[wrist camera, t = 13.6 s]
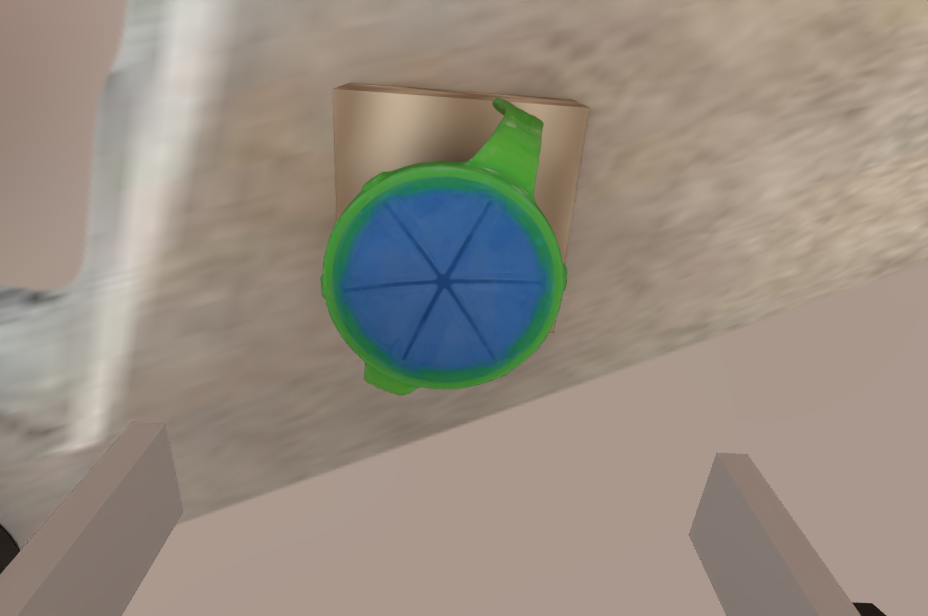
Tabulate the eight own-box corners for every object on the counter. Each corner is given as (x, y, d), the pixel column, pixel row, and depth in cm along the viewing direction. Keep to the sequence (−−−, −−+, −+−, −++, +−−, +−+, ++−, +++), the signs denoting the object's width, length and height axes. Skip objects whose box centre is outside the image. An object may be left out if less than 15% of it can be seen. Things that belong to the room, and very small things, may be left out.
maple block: (353, 289, 40) (339, 320, 36) (349, 83, 34) (332, 88, 30) (543, 300, 41) (553, 332, 36) (572, 99, 35) (589, 107, 30)
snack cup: (446, 47, 29) (439, 48, 20) (600, 161, 31) (658, 210, 22) (308, 276, 34) (253, 360, 25) (449, 357, 37) (445, 460, 28)
